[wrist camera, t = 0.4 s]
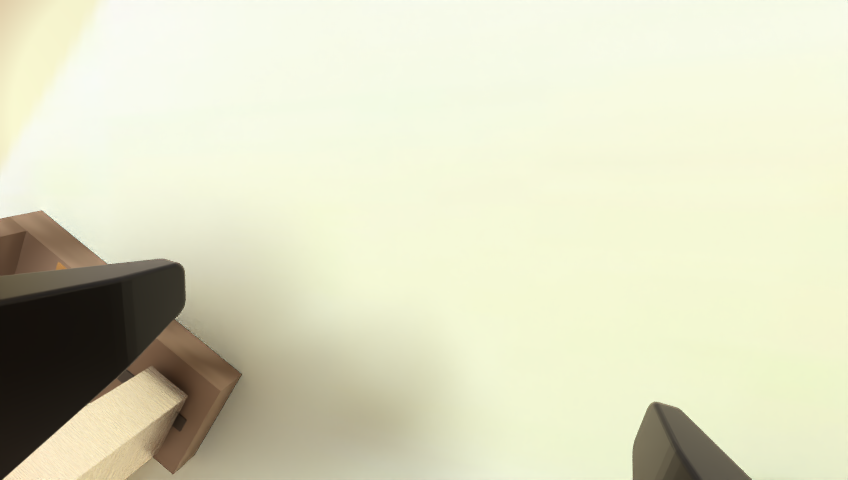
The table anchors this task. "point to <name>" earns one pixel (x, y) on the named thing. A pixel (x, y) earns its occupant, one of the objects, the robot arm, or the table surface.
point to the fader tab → (109, 433)
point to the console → (169, 353)
